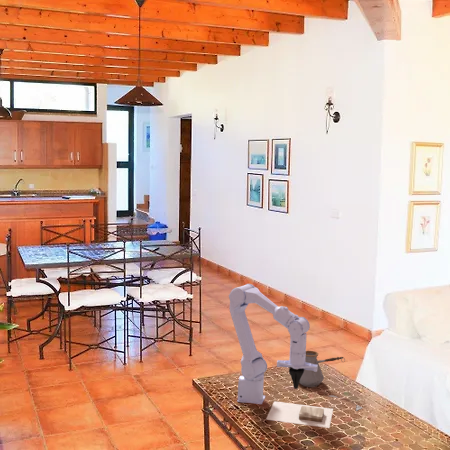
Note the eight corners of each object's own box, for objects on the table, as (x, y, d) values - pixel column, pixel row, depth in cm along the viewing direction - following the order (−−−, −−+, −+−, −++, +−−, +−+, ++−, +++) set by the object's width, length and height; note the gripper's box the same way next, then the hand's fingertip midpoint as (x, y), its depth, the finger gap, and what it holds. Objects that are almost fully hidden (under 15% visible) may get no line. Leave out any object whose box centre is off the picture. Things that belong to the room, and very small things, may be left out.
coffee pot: (289, 383, 243) (290, 348, 241) (305, 375, 251) (306, 341, 250) (334, 398, 229) (336, 361, 227) (350, 390, 237) (351, 353, 235)
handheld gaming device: (331, 394, 232) (363, 406, 221) (331, 396, 232) (363, 408, 221) (316, 399, 226) (348, 413, 215) (316, 401, 226) (348, 415, 215)
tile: (299, 413, 209) (321, 416, 207) (301, 405, 215) (323, 408, 213) (298, 419, 209) (321, 422, 207) (301, 411, 216) (323, 414, 214)
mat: (266, 420, 208) (266, 419, 208) (274, 402, 224) (274, 401, 224) (329, 429, 203) (329, 427, 203) (333, 410, 218) (333, 408, 218)
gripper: (275, 352, 211) (274, 389, 213) (316, 357, 207) (314, 394, 209) (279, 346, 218) (277, 382, 220) (318, 351, 214) (317, 387, 216)
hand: (296, 387), depth 215 cm, fingers closed
